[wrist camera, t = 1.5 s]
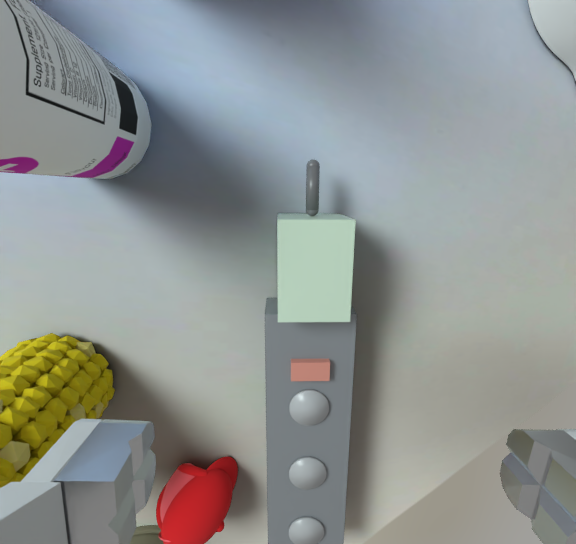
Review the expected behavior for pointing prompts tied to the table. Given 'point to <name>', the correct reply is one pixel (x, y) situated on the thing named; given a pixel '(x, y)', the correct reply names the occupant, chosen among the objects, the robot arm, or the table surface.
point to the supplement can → (64, 102)
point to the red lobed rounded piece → (196, 502)
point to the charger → (314, 261)
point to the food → (46, 397)
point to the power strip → (307, 427)
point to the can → (147, 535)
